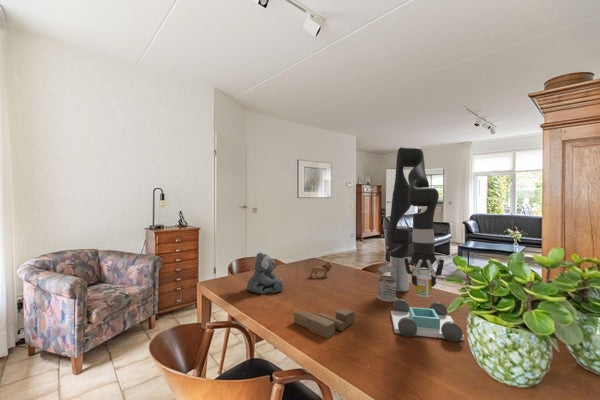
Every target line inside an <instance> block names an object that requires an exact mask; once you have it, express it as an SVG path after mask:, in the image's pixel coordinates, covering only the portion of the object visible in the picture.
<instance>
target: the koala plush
mask: <svg viewBox="0 0 600 400" xmlns="http://www.w3.org/2000/svg"><path fill="white" fill-rule="evenodd" d="M255 256H256V257H255V265H254V274H253V275H252V276H251V277H250V278H249V280H248V281H247V286H246V288H247V290H248V291H249V292H250V293H255V294H259V293H260V295H262V294H263V295H264V294H267V293H269V294H276V292H277V293H281V292H282V291H283V290H284V284H283V281H282V278H277V277H276V275H275V273H274V270H275V269H276V266H277V264H276V263H275V261H274V260H273V259H272V258H271V256H270V255H269V254H267V253H266V254H265V253H263V252H258V253H257V254H256V255H255Z"/></svg>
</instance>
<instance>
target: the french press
mask: <svg viewBox="0 0 600 400" xmlns="http://www.w3.org/2000/svg"><path fill="white" fill-rule="evenodd" d="M384 249H386V251H388V250H389V249H390V248H389V246H388V245H385V246H384ZM377 269H378V270H379V271H376V272H375V273H374V274H373V276H372V283H373V284H374V286H375V287H377V289H378V295H377V296H376V298H377V299H379V300H381V301H383V302H394V301H395V300H397V299H399V298H398V297H397V291H396V281H395V280H394V279H395V278H394V277H392V276H390V275H381V272H383V273H390V272H395V271H396V269H394V268H393V267H391V266H390V265H383V266H379V267H378V268H377ZM377 275H378V276H379V279H378V285H376V282H375V278H376V276H377ZM390 286H391V287H393V288H391V287H390Z"/></svg>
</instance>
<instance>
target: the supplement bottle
mask: <svg viewBox="0 0 600 400" xmlns="http://www.w3.org/2000/svg"><path fill="white" fill-rule="evenodd" d="M432 290H433V288H432V278H431V273H430V270H429V269H428V268H419V270H418V271H417V273H416V286H415V294H416V295H417V296H419V297H422V298H431V297H432V295H433V294H432Z"/></svg>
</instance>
